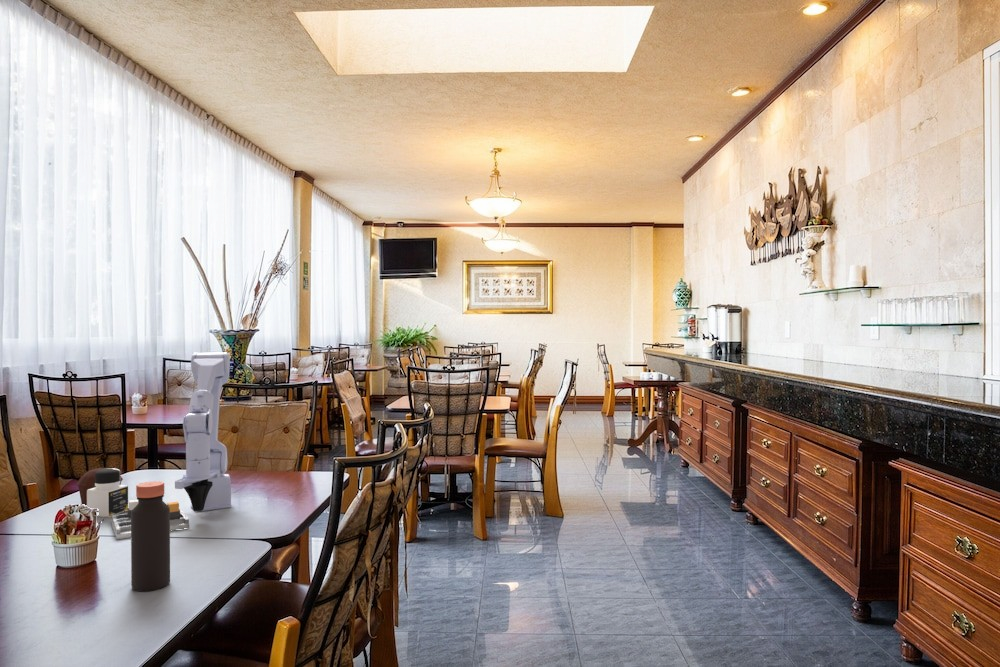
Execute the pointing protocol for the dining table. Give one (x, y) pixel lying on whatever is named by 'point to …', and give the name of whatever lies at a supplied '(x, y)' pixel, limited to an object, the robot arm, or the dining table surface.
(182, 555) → the dining table surface
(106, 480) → the medicine bottle
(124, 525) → the gray compartment tray
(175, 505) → the orange fader
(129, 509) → the white fader
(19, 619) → the dining table surface
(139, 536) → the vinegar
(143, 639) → the dining table surface
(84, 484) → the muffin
